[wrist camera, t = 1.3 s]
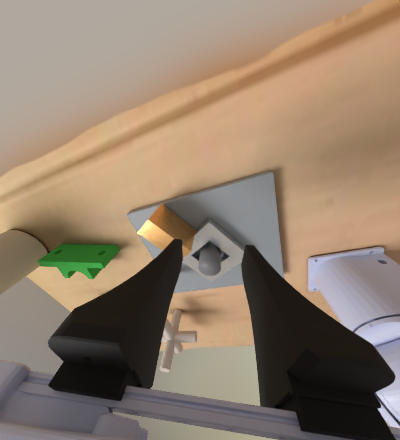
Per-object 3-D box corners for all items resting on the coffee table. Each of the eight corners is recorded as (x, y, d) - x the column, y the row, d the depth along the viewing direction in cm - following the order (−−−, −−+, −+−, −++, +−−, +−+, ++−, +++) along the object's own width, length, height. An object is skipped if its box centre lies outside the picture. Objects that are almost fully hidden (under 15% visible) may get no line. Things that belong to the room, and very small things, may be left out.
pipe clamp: (72, 258, 29) (49, 277, 25) (62, 243, 28) (36, 261, 24) (124, 260, 28) (109, 280, 24) (118, 244, 26) (100, 263, 22)
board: (269, 170, 18) (287, 180, 13) (281, 273, 26) (294, 301, 21) (130, 211, 22) (109, 229, 18) (176, 287, 30) (169, 312, 26)
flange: (248, 251, 22) (255, 275, 18) (211, 276, 25) (210, 301, 22) (174, 188, 18) (162, 201, 14) (142, 226, 22) (125, 246, 18)
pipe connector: (164, 323, 38) (149, 378, 29) (150, 299, 33) (126, 356, 24) (203, 322, 36) (198, 382, 27) (193, 297, 31) (184, 358, 23)
